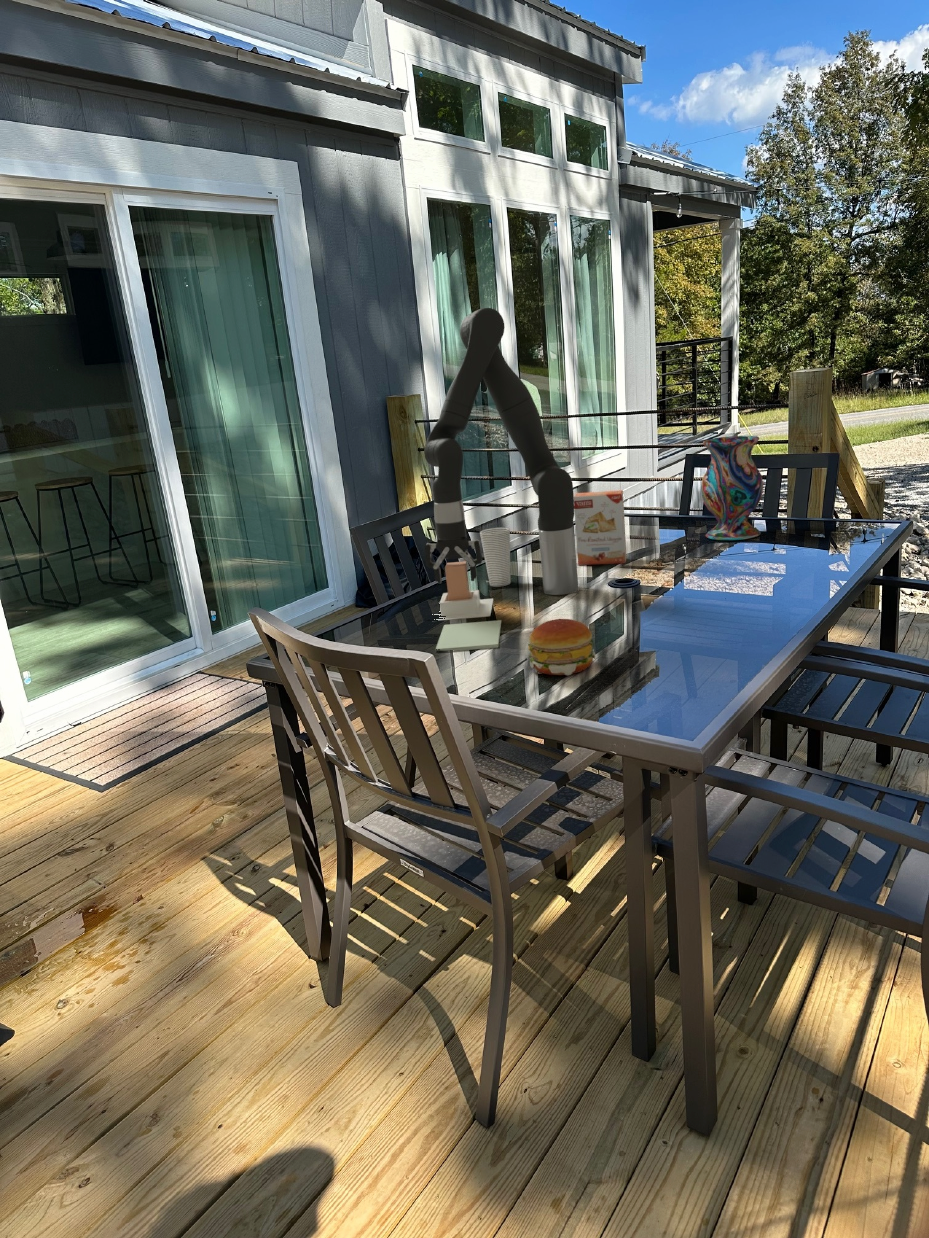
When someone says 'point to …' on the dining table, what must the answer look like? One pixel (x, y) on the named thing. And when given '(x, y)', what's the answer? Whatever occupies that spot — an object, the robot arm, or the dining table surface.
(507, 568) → the cup
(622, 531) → the cracker box
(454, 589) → the part
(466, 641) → the mat
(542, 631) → the burger
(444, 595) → the pocket
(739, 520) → the vase
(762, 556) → the dining table surface
